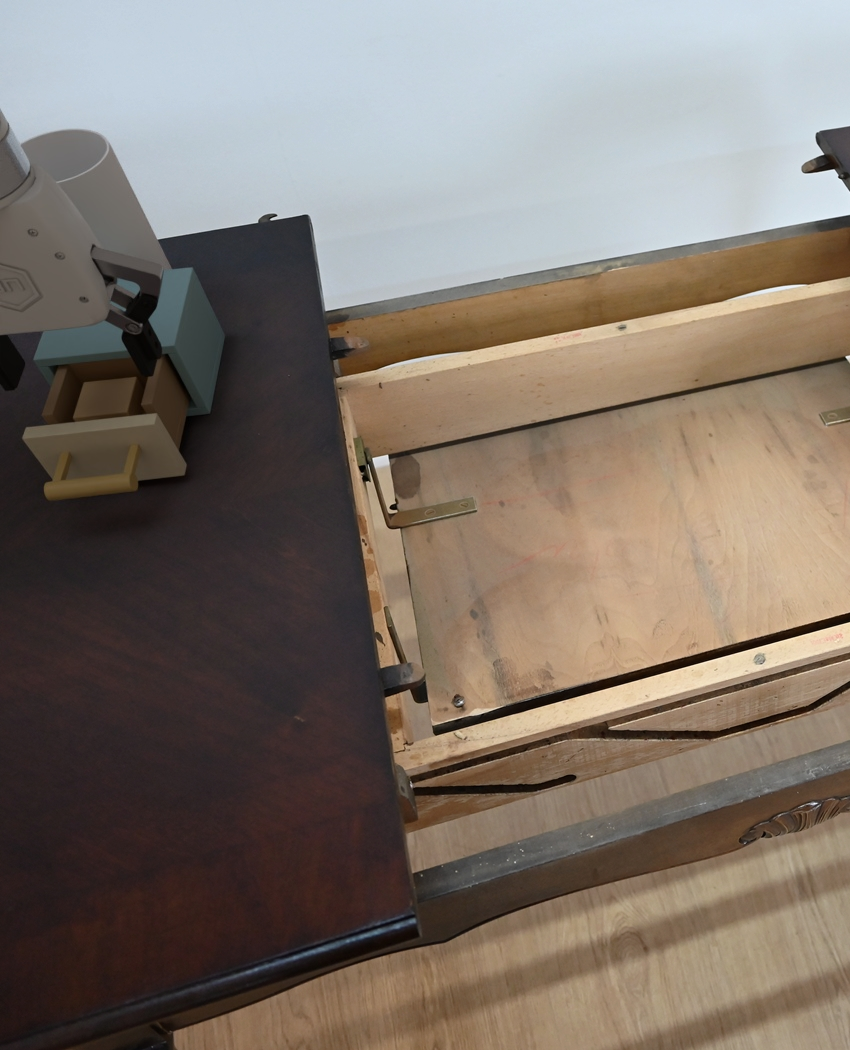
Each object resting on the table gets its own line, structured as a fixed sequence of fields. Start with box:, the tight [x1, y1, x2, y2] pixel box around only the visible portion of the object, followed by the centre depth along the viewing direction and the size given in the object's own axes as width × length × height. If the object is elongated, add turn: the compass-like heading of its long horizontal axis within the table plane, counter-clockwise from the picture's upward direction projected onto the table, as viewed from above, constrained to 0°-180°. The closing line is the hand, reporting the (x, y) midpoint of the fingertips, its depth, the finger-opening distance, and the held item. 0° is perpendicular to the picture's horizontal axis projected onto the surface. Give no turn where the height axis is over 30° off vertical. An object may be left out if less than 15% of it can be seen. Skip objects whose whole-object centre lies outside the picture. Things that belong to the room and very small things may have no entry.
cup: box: [19, 128, 173, 270], centre depth 89 cm, size 8×8×16 cm
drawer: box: [21, 354, 190, 502], centre depth 80 cm, size 13×9×6 cm
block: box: [73, 377, 146, 422], centre depth 81 cm, size 4×4×4 cm
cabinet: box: [32, 266, 226, 417], centre depth 86 cm, size 10×11×8 cm
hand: (84, 371), depth 77 cm, fingers open, 9 cm apart
